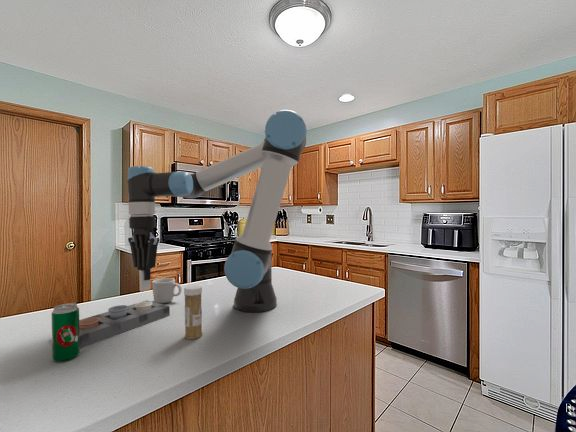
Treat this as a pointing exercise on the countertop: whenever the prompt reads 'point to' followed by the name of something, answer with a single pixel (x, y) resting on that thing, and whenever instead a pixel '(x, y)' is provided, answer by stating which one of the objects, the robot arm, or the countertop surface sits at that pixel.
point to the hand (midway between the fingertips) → (145, 289)
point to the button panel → (122, 322)
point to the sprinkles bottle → (193, 311)
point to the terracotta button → (88, 322)
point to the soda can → (65, 332)
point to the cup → (165, 290)
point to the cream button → (143, 306)
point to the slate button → (118, 311)
